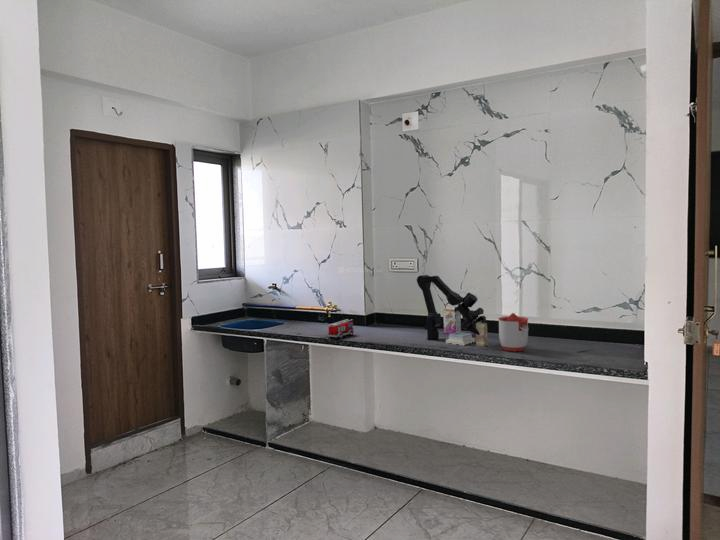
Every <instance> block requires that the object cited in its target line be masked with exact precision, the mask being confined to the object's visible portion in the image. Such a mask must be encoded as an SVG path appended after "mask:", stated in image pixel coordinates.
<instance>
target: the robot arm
mask: <svg viewBox="0 0 720 540" xmlns="http://www.w3.org/2000/svg"><path fill="white" fill-rule="evenodd" d="M416 283H417V286H418V287H419V288H420V289H421V292H422V294H423V298H424V301H425V302H424V303H425V307H426V310H427V317H426V320H427V322H426V323H425V324H424V326H423V327H424V330H426V339H427V340H428V341H434V340H439V338H440V337H439V331H438V330H439V328H440V326H441V324H442V320H443V318H442V314H441V313H438V311H437V310H436V306H435V303H434V299H433V298H434V297H433V294H432V291H431V290H432V289H431V287H432V286H431V285H432V284H434V285H435V286H436V287H437V289H439V291H440V292H441V293H442V294H443V295H444V296H445V298H446V301H447V302H448V303H449V305H450V306H451V307H452V306H454V308H455V310H454V312H457V311H459V313H460V314H461V317H462V318H461V319H463V320H464V322H463V323H461V329H463V330H464V331H465V330H466V331H468V332H471V333H473V334H475V335H476V334H477V335H480V333H479V332H478V330H477V329H476V324H477V323H486V321H487V317H486V316H485V315H484V311H485V310H484V308H482V307H478V308H477V309H475V310H471V309H470V308H472V307H473V306H474V305H475V304H476V303H477V302H478V300H479V299H478V297H477V296H476V295H474V294H473V293H471V292H467V293H466V294H465V296H464V297H463V296H462V295H460V294H459V293H458V292H455V291H453V290H452V289H451V288H450V287H449V286H448V285H447V284H446V283H445V282H444V281H443V280H442V279H441V278H440V276H439V275H428V274H423V275H418V276H417V278H416ZM487 333H489V329H487Z"/></svg>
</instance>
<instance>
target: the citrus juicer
mask: <svg viewBox="0 0 720 540" xmlns="http://www.w3.org/2000/svg"><path fill="white" fill-rule="evenodd" d="M498 338H499V342H500V345H501V348H502V350H503V351H506V352H507V351H509V352H512V351H513V353H515V352H521V351H525V350H526V347H527V344H528V338H529V318H528V317H524V316H517V315H516V314H515V313H514V312H512V313H510V315H509V316H501V317H498Z"/></svg>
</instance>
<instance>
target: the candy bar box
mask: <svg viewBox="0 0 720 540" xmlns="http://www.w3.org/2000/svg"><path fill="white" fill-rule="evenodd" d="M454 310H455V307H443V310H442V312H443V315H442V317H443V318H442V320H443V334H445V333H446V334H445V335H449V334H453V333H456V332H462V323H461V322H462V318H461V317H462V315H461V314H460V313H459V311H457V312H454Z"/></svg>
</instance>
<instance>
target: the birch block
mask: <svg viewBox="0 0 720 540" xmlns="http://www.w3.org/2000/svg"><path fill="white" fill-rule="evenodd" d="M475 327H476V329H477V330H478V332H479V333H480V335H477V334H475V342H476V343H475V345H479V346H478V347H486V346H488V332H487V330H488V323H487V322H485V323H477V324H475ZM485 345H486V346H485Z"/></svg>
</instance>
